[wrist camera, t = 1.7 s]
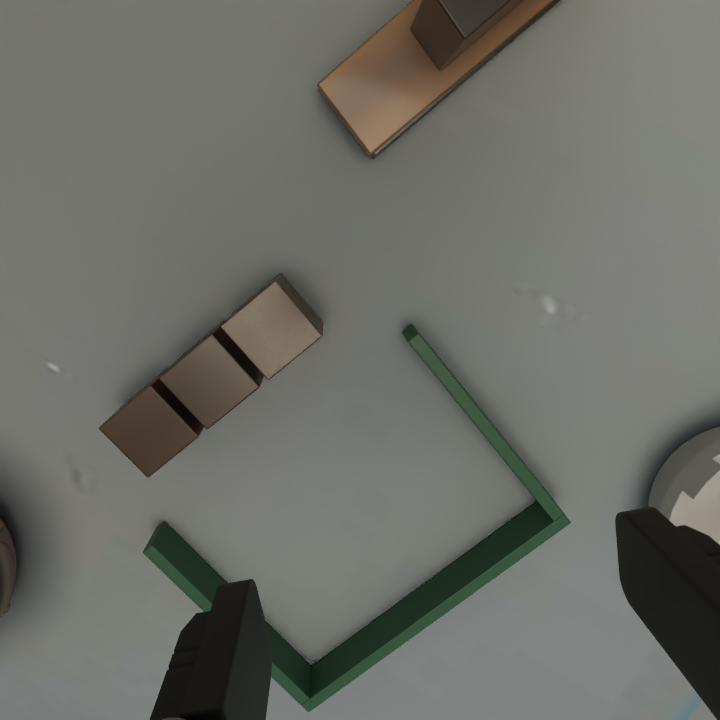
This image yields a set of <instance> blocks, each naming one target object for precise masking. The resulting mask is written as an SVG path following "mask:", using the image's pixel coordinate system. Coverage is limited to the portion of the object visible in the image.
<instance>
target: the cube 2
mask: <svg viewBox="0 0 720 720" xmlns="http://www.w3.org/2000/svg"><path fill="white" fill-rule="evenodd" d="M223 323H224V322H222V323H221V324H219V325H218V326H217V327H216V328H215V329H214V330H212V331H211V332H210V333H209V334H208V335H206V336H205V337H204V338H203V339H202V340H200V341H199V342H198V343H197V344H196V345H194V346H193V347H192V348H191V349H190V350H188V351H187V352H186V353H185V354H184V355H182V356H181V357H180V358H179V359H178V360H176V361H175V362H174V363H173V364H172V365H171V366H170V367H169V368H168V369H167V370H166V371H165V372H164V373H163V374H162V375H161V376H160V377H159V379H160V380H161V381H162V382H163V383H164V385H165V386H166V387H167V388H168V389H169V390H170V391H171V392H172V393H173V394H174V395H175V396H176V397H177V398H178V399H179V400H180V401H181V403H182V404H183V405H184V406H185V407H186V408H187V409H188V410H189V411H190V412H191V413H192V414H193V415H194V416H195V417H196V418H197V419H198V421H199V422H200V423H201V424H202V425H203V426H204V427H205V428H206V429H209V428H210V427H211V426H213V425H214V424H215V423H216V422H217V421H219V420H220V419H221V418H222V417H224V416H225V415H226V414H227V413H228V412H230V411H231V410H232V409H233V408H235V407H236V406H237V405H238V404H240V403H241V402H242V401H243V400H244V399H246V398H247V397H248V396H249V395H251V394H252V393H253V392H254V391H256V390H257V389H258V388H259V387H260V384H261V382H262V379H263V377H264V375H263V374H262V373H261V372H260V370H259V369H258V368H257V367H256V366H255V365H254V364H253V363H252V361H251V360H250V359H249V358H248V357H247V356H246V355H245V354H244V353H243V351H242V350H241V349H240V348H239V347H238V346H237V345H236V344H235V342H234V341H233V340H232V339H231V338H230V337H229V336H228V335H227V333H226V332H225V331H224V330H223V329H222V328H221V325H222V324H223Z"/></svg>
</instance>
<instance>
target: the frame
mask: <svg viewBox="0 0 720 720" xmlns="http://www.w3.org/2000/svg"><path fill="white" fill-rule="evenodd" d="M402 333H403V334H404V336H405V338H406V339H407V341H408V343H409V344H410V345H411V346H412V348H413V349H414V350H415V351H416V353H417V354H418V355H419V356H420V357H421V359H422V360H423V361H424V362H425V364H426V365H427V366H428V367H429V369H430V370H431V371H432V372H433V373H434V375H435V376H436V377H437V378H438V380H439V381H440V382H441V383H442V385H443V386H444V387H445V388H446V389H447V391H448V392H449V393H450V394H451V396H452V397H453V398H454V399H455V401H456V402H457V403H458V404H459V405H460V407H461V408H462V409H463V410H464V412H465V413H466V414H467V415H468V417H469V418H470V419H471V420H472V421H473V423H474V424H475V425H476V426H477V428H478V429H479V430H480V431H481V433H482V434H483V435H484V436H485V437H486V439H487V440H488V441H489V442H490V444H491V445H492V446H493V447H494V449H495V450H496V451H497V452H498V453H499V455H500V456H501V457H502V458H503V460H504V461H505V462H506V463H507V465H508V466H509V467H510V468H511V469H512V471H513V472H514V473H515V474H516V476H517V477H518V478H519V479H520V481H521V482H522V483H523V484H524V485H525V487H526V488H527V489H528V490H529V492H530V493H531V494H532V495H533V497H534V498H535V499H536V500H537V502H535V503H534V504H533V505H531V506H530V507H528V508H527V509H526V510H524V511H523V512H522V513H520V514H519V515H518V516H516V517H515V518H513V519H512V520H511V521H509V522H508V523H507V524H505V525H504V526H503V527H501V528H500V529H498V530H497V531H496V532H494V533H493V534H492V535H490V536H489V537H488V538H486V539H485V540H483V541H482V542H481V543H479V544H478V545H477V546H475V547H474V548H473V549H471V550H470V551H468V552H467V553H466V554H464V555H463V556H462V557H460V558H459V559H458V560H456V561H455V562H453V563H452V564H451V565H449V566H448V567H447V568H445V569H444V570H443V571H441V572H440V573H438V574H437V575H436V576H434V577H433V578H432V579H430V580H429V581H428V582H426V583H425V584H423V585H422V586H421V587H419V588H418V589H417V590H415V591H414V592H413V593H411V594H410V595H408V596H407V597H406V598H404V599H403V600H402V601H400V602H399V603H398V604H396V605H395V606H393V607H392V608H391V609H389V610H388V611H387V612H385V613H384V614H383V615H381V616H380V617H378V618H377V619H376V620H374V621H373V622H372V623H370V624H369V625H368V626H366V627H365V628H363V629H362V630H361V631H359V632H358V633H357V634H355V635H354V636H353V637H351V638H350V639H348V640H347V641H346V642H344V643H343V644H342V645H340V646H339V647H337V648H336V649H335V650H333V651H332V652H331V653H329V654H328V655H327V656H325V657H324V658H322V659H321V660H320V661H318V662H317V663H316V664H314V665H313V666H312V667H311V666H310V665H309V664H308V663H307V662H306V661H305V660H304V659H303V658H302V657H301V656H300V655H299V654H298V653H297V652H296V651H295V650H294V649H293V648H292V647H291V646H290V645H289V644H288V643H287V642H286V641H285V640H284V639H283V638H282V637H281V636H280V635H279V634H278V633H277V632H276V631H275V630H274V629H273V628H272V627H271V626H270V625H269V624H268V623H267V622H266V621H265V623H266V627H267V631H268V635H269V639H270V645H271V654H272V672H271V677H272V678H273V679H274V680H275V681H276V682H277V683H279V684H280V685H281V686H282V687H283V688H284V689H285V690H286V691H287V692H288V693H289V694H290V695H291V696H292V697H293V698H294V699H295V700H296V701H297V702H298V703H299V704H300V705H302V707H304V708H305V709H306V710H307V711H308V712H310V711H311V710H312V709H314V708H315V707H317V706H318V705H319V704H321V703H322V702H323V701H325V700H326V699H328V698H329V697H330V696H332V695H333V694H335V693H336V692H337V691H339V690H340V689H341V688H343V687H344V686H346V685H347V684H348V683H350V682H351V681H353V680H354V679H355V678H357V677H358V676H359V675H361V674H362V673H364V672H365V671H366V670H368V669H369V668H371V667H372V666H373V665H375V664H376V663H377V662H379V661H380V660H382V659H383V658H384V657H386V656H387V655H389V654H390V653H391V652H393V651H394V650H395V649H397V648H398V647H400V646H401V645H402V644H404V643H405V642H407V641H408V640H409V639H411V638H412V637H413V636H415V635H416V634H418V633H419V632H420V631H422V630H423V629H425V628H426V627H427V626H429V625H430V624H431V623H433V622H434V621H436V620H437V619H438V618H440V617H441V616H442V615H444V614H445V613H447V612H448V611H449V610H451V609H452V608H454V607H455V606H456V605H458V604H459V603H460V602H462V601H463V600H465V599H466V598H467V597H469V596H470V595H472V594H473V593H474V592H476V591H477V590H478V589H480V588H481V587H483V586H484V585H485V584H487V583H488V582H490V581H491V580H492V579H494V578H495V577H496V576H498V575H499V574H501V573H502V572H503V571H505V570H506V569H508V568H509V567H510V566H512V565H513V564H514V563H516V562H517V561H519V560H520V559H521V558H523V557H524V556H526V555H527V554H528V553H530V552H531V551H532V550H534V549H535V548H537V547H538V546H539V545H541V544H542V543H544V542H545V541H546V540H548V539H549V538H550V537H552V536H553V535H555V534H556V533H557V532H559V531H560V530H562V529H563V528H564V527H566V526H567V525H568V524H570V521H569V519H568V518H567V517H566V515H565V514H564V513H563V512H562V510H561V509H560V508H559V506H558V505H557V504H556V502H555V501H554V500H553V499H552V497H551V496H550V495H549V494H548V492H547V491H546V490H545V489H544V487H543V486H542V485H541V484H540V482H539V481H538V480H537V479H536V477H535V476H534V475H533V474H532V472H531V471H530V470H529V469H528V468H527V466H526V465H525V464H524V463H523V461H522V460H521V459H520V458H519V456H518V455H517V454H516V453H515V451H514V450H513V449H512V448H511V446H510V445H509V444H508V443H507V441H506V440H505V439H504V438H503V436H502V435H501V434H500V433H499V431H498V430H497V429H496V428H495V426H494V425H493V424H492V423H491V421H490V420H489V419H488V418H487V416H486V415H485V414H484V413H483V412H482V410H481V409H480V408H479V407H478V405H477V404H476V403H475V402H474V400H473V399H472V398H471V397H470V395H469V394H468V393H467V392H466V390H465V389H464V388H463V387H462V385H461V384H460V383H459V382H458V380H457V379H456V378H455V377H454V375H453V374H452V373H451V372H450V370H449V369H448V368H447V367H446V365H445V364H444V363H443V362H442V361H441V359H440V358H439V357H438V356H437V354H436V353H435V352H434V351H433V349H432V348H431V347H430V346H429V344H428V343H427V342H426V341H425V339H424V338H423V337H422V336H421V334H420V333H419V332H418V331H417V329H416V328H415V327H414V326H413V325H412V324H411V325H410V326H409V327H407V328H406V329H405V330H404V331H403V332H402ZM143 553H144V554H145V555H146V556H147V557H148V558H149V559H150V560H151V561H152V562H153V563H154V564H155V565H156V566H157V567H158V568H159V569H160V570H161V571H162V572H163V573H164V574H165V575H167V576H168V577H169V578H170V579H171V580H172V581H173V582H174V583H175V584H176V585H177V586H178V587H179V588H180V589H181V590H182V591H183V592H184V593H185V594H186V595H187V596H188V597H189V598H190V599H191V600H192V601H193V602H195V603H196V604H197V605H198V606H199V607H200V608H201V609H202V610H203V611H204V612H207V611H210V610H211V607H212V603H213V600H214V596H215V593H216V590H217V587H218V586H219V585H222V584H227V583H226V582H225V581H224V580H223V579H222V578H221V577H220V576H219V575H218V574H217V573H216V572H215V571H214V570H213V569H212V568H211V567H210V566H209V565H208V564H207V563H206V562H205V561H204V560H203V559H202V558H201V557H200V556H199V555H198V554H197V553H196V552H195V551H194V550H193V549H192V548H191V547H190V546H189V545H188V544H187V543H186V542H185V541H184V540H183V539H182V538H181V537H180V536H179V535H178V534H177V533H176V532H175V531H174V530H173V529H172V528H171V527H170V526H169V525H168V524H167V523H166V522H163V523H162V524H161V525H159V526H158V527H157V528H156V529H155V531H154V533H153V535H152V537H151V538H150V540H149V542H148V544H147V546H146V547H145V549H144V551H143Z"/></svg>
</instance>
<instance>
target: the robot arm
mask: <svg viewBox="0 0 720 720" xmlns="http://www.w3.org/2000/svg"><path fill="white" fill-rule="evenodd" d="M615 523H616V537H617V549H618V562H619V574H620V581H621V585H622V588H623V591H624V594H625V596H626V598H627V600H628V602H629V604H630V605H631V607H632V608H633V609H634V611H635V612H636V613H637V615H638V616H639V617H640V619H641V620H642V621H643V622H644V624H645V625H646V626H647V628H648V629H649V630H650V632H651V633H652V634H653V636H654V637H655V638H656V640H657V641H658V642H659V644H660V645H661V646H662V647H663V649H664V650H665V651H666V653H667V654H668V655H669V657H670V658H671V659H672V661H673V662H674V663H675V665H676V666H677V667H678V669H679V670H680V671H681V672H682V674H683V675H684V676H685V678H686V679H687V680H688V682H689V683H690V684H691V686H692V687H693V688H694V690H695V691H696V692H697V694H698V695H699V696H700V697H701V699H702V700H703V701H704V703H705V704H706V705H707V707H708V708H709V709H710V711H711V712H712V713H713V714H714V716H715V717H716V718H717V720H720V545H719V544H718V543H717V542H716V541H715V540H713V539H712V538H711V537H710V536H709V535H706V534H704V533H702V532H700V531H697V530H695V529H693V528H691V527H688V526H686V525H681V526H675V525H674V524H673V523H672V522H671V521H669V520H668V519H667V518H666V517H665V516H664V515H663V514H662V513H661V512H660V511H658V510H657V509H656V508H654V507H647V508H642V509H636V510H631V511H625V512H620V513H618V514H617V515H616V521H615ZM271 672H272V654H271V645H270V639H269V635H268V631H267V627H266V623H265V619H264V615H263V611H262V607H261V603H260V599H259V595H258V591H257V587H256V584H255V582H254V580H253V579H249V580H244V581H238V582H233V583H227V584H222V585H219V586H218V587H217V590H216V593H215V596H214V600H213V603H212V607H211V610H210V611H207V612H202V613H196V614H195V616H194V617H193V618H192V619H191V620H190V621H189V623H188V624H187V625H186V626H185V627H184V629H183V630H182V631H181V633H180V636H179V638H178V641H177V644H176V647H175V650H174V654H173V655H172V658H171V661H170V664H169V670H167V672H166V675H165V678H164V681H163V683H162V686H161V689H160V692H159V695H158V698H157V700H156V703H155V706H154V709H153V712H152V714H151V717H150V720H265V719H266V711H267V703H268V696H269V688H270V680H271Z"/></svg>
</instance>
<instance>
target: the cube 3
mask: <svg viewBox="0 0 720 720" xmlns="http://www.w3.org/2000/svg"><path fill="white" fill-rule="evenodd" d="M221 328H222V329H223V330H224V331H225V332H226V333H227V335H228V336H229V337H230V338H231V339H232V340H233V341H234V342H235V344H236V345H237V346H238V347H239V348H240V349H241V350H242V351H243V353H244V354H245V355H246V356H247V357H248V358H249V359H250V360H251V361H252V363H253V364H254V365H255V366H256V367H257V368H258V369H259V370H260V372H261V373H262V374H263V375H264V376H265V377H266V378H267V379H268V380H269V379H270V378H272V377H273V376H274V375H275V374H277V373H278V372H279V371H280V370H281V369H283V368H284V367H285V366H286V365H288V364H289V363H290V362H291V361H293V360H294V359H295V358H296V357H297V356H299V355H300V354H301V353H302V352H304V351H305V350H306V349H307V348H309V347H310V346H311V345H312V344H313V343H315V342H316V341H317V340H318V339H320V338H321V337H322V335H323V322H322V321H321V319H320V318H319V317H318V316H317V315H316V314H315V312H314V311H313V310H312V309H311V308H310V306H309V305H308V304H307V303H306V302H305V301H304V299H303V298H302V297H301V296H300V295H299V293H298V292H297V291H296V290H295V289H294V287H293V286H292V285H291V284H290V283H289V282H288V280H287V279H286V278H285V277H284V276H283V274H279V275H278V276H277V277H276V278H274V279H273V280H272V281H271V282H270V283H268V284H267V285H266V286H265V287H264V288H262V289H261V290H260V291H259V292H258V293H257V294H255V295H254V296H253V297H252V298H251V299H249V300H248V301H247V302H246V303H245V304H243V305H242V306H241V307H240V308H239V309H237V310H236V311H235V312H234V313H233V314H232V315H231V316H230V317H229V318H228V319H227V320H226V321H225V322H224V323H223V324H222V325H221Z"/></svg>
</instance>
